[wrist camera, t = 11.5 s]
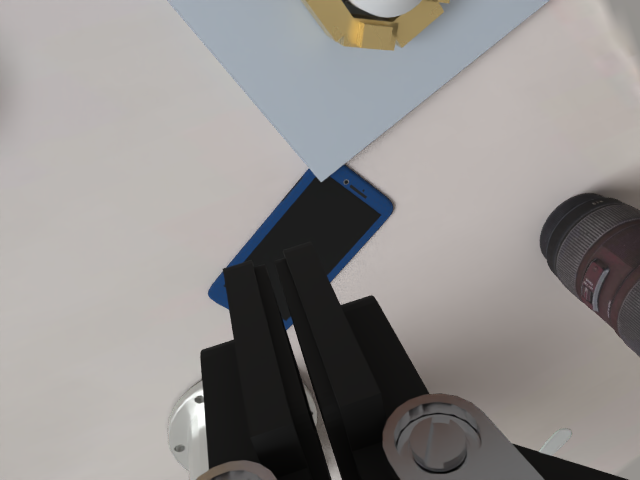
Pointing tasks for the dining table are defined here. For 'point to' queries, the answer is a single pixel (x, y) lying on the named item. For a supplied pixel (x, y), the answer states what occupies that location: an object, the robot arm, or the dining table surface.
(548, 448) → the butter knife
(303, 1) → the segmented octagonal ring
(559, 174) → the dining table surface
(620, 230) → the camera lens
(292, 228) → the cell phone
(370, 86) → the pale blue slab
